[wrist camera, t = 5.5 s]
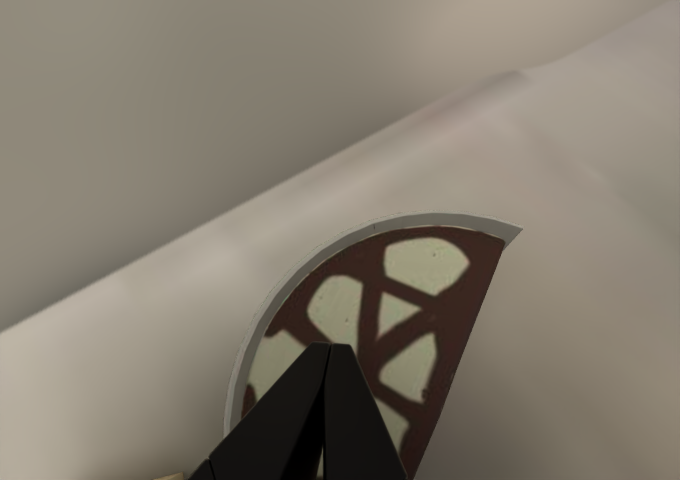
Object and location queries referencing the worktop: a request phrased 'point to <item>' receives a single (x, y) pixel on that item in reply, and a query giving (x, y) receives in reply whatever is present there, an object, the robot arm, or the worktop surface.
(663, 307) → the worktop surface
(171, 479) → the number block
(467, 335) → the food container
